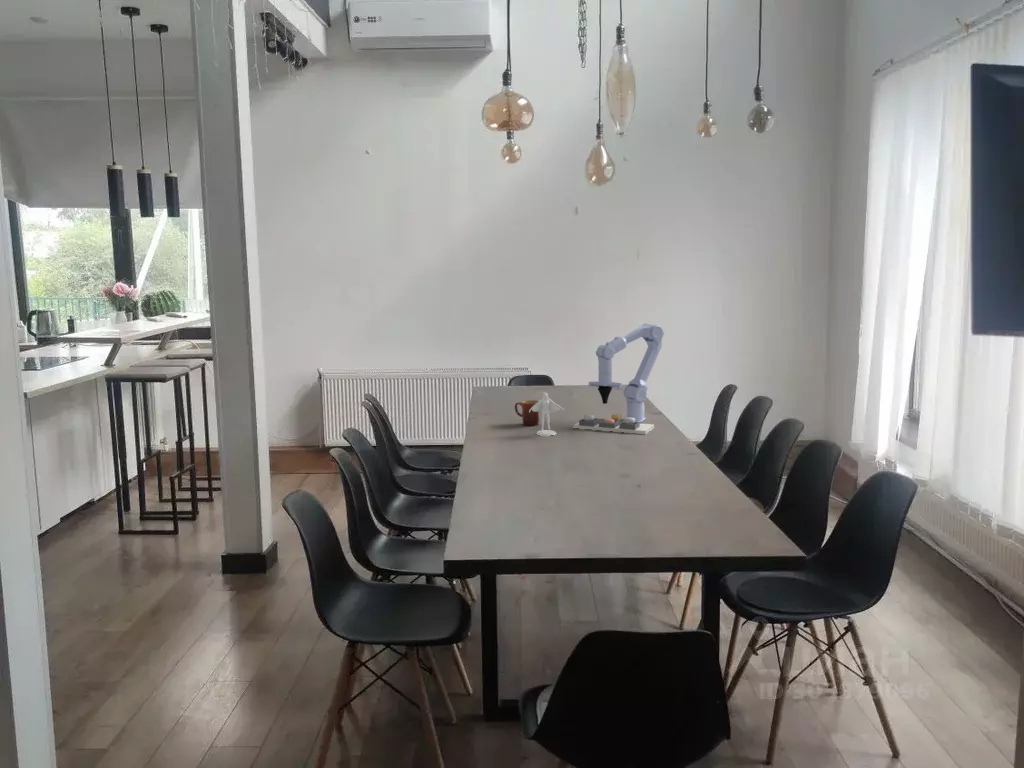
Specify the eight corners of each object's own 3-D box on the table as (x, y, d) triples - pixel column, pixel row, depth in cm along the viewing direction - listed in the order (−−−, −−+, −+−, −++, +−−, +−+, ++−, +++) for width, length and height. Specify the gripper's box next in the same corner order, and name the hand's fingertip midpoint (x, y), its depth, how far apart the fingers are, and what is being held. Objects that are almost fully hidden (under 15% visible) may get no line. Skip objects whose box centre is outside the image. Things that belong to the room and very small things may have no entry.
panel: (583, 422, 360) (583, 414, 359) (654, 427, 347) (654, 419, 346) (573, 428, 348) (573, 420, 347) (645, 434, 334) (645, 426, 334)
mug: (543, 423, 359) (543, 400, 357) (535, 427, 351) (534, 404, 350) (519, 421, 365) (519, 399, 363) (510, 425, 357) (510, 402, 355)
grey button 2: (625, 422, 344) (625, 416, 343) (636, 423, 342) (636, 417, 341) (622, 424, 340) (622, 419, 339) (633, 425, 338) (633, 419, 337)
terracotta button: (605, 424, 348) (605, 418, 347) (615, 425, 346) (616, 419, 345) (602, 426, 343) (602, 420, 343) (612, 427, 342) (612, 421, 341)
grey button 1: (585, 419, 351) (585, 414, 351) (595, 420, 349) (595, 414, 349) (582, 421, 347) (582, 416, 347) (592, 422, 345) (592, 416, 345)
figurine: (529, 436, 334) (528, 393, 331) (530, 430, 345) (529, 389, 342) (564, 436, 334) (563, 393, 331) (563, 430, 344) (563, 389, 341)
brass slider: (614, 421, 353) (614, 413, 352) (621, 421, 352) (621, 413, 351) (611, 423, 349) (611, 414, 349) (618, 423, 348) (618, 415, 347)
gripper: (586, 373, 351) (586, 403, 353) (618, 374, 345) (618, 405, 347) (591, 370, 358) (591, 401, 360) (623, 372, 351) (623, 403, 354)
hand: (605, 403), depth 354 cm, fingers closed
